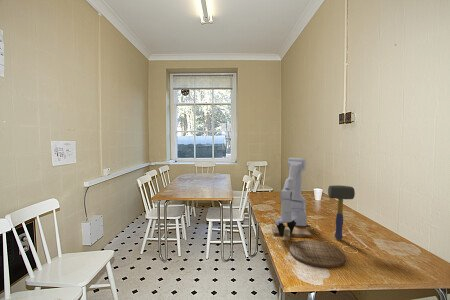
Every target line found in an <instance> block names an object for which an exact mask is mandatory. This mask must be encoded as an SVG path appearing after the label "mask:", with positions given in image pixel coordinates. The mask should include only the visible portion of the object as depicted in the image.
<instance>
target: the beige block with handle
mask: <svg viewBox="0 0 450 300" xmlns="http://www.w3.org/2000/svg"><path fill="white" fill-rule="evenodd" d="M281 239H282V240H283V241H290V240H291V236H290V229H289V227H288V226H285V229H284V235H283V237H281Z"/></svg>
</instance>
